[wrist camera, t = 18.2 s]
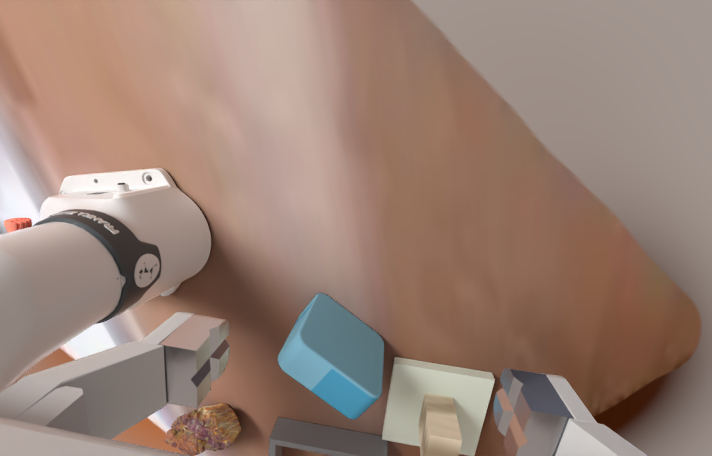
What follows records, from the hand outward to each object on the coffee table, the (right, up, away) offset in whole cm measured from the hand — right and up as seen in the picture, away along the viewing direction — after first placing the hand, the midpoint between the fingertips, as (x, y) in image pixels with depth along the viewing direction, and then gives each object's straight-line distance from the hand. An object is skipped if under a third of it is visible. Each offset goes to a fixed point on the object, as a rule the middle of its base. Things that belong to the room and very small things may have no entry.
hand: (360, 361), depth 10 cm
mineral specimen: (-24, -28, +46) cm, 59 cm away
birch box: (+12, -23, +38) cm, 46 cm away
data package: (-2, -10, +38) cm, 40 cm away
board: (+12, -23, +40) cm, 47 cm away
